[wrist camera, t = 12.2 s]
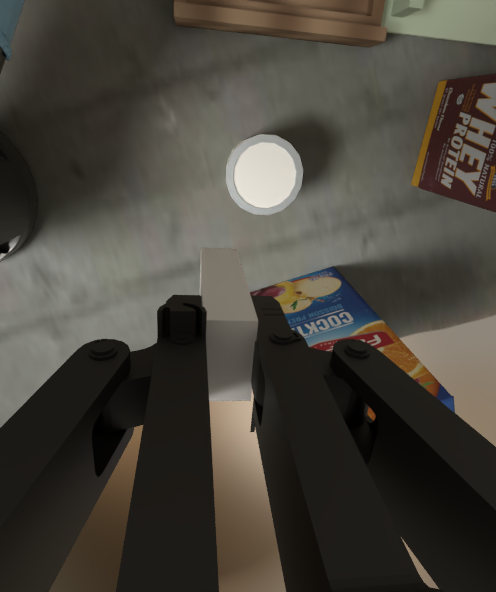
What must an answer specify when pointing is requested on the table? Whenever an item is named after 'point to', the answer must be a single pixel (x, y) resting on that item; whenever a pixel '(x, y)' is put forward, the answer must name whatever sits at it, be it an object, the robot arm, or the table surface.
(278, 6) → the box
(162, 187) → the table surface
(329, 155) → the table surface
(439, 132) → the supplement box
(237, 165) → the white cup
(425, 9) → the lid
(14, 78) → the table surface
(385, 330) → the juice carton
